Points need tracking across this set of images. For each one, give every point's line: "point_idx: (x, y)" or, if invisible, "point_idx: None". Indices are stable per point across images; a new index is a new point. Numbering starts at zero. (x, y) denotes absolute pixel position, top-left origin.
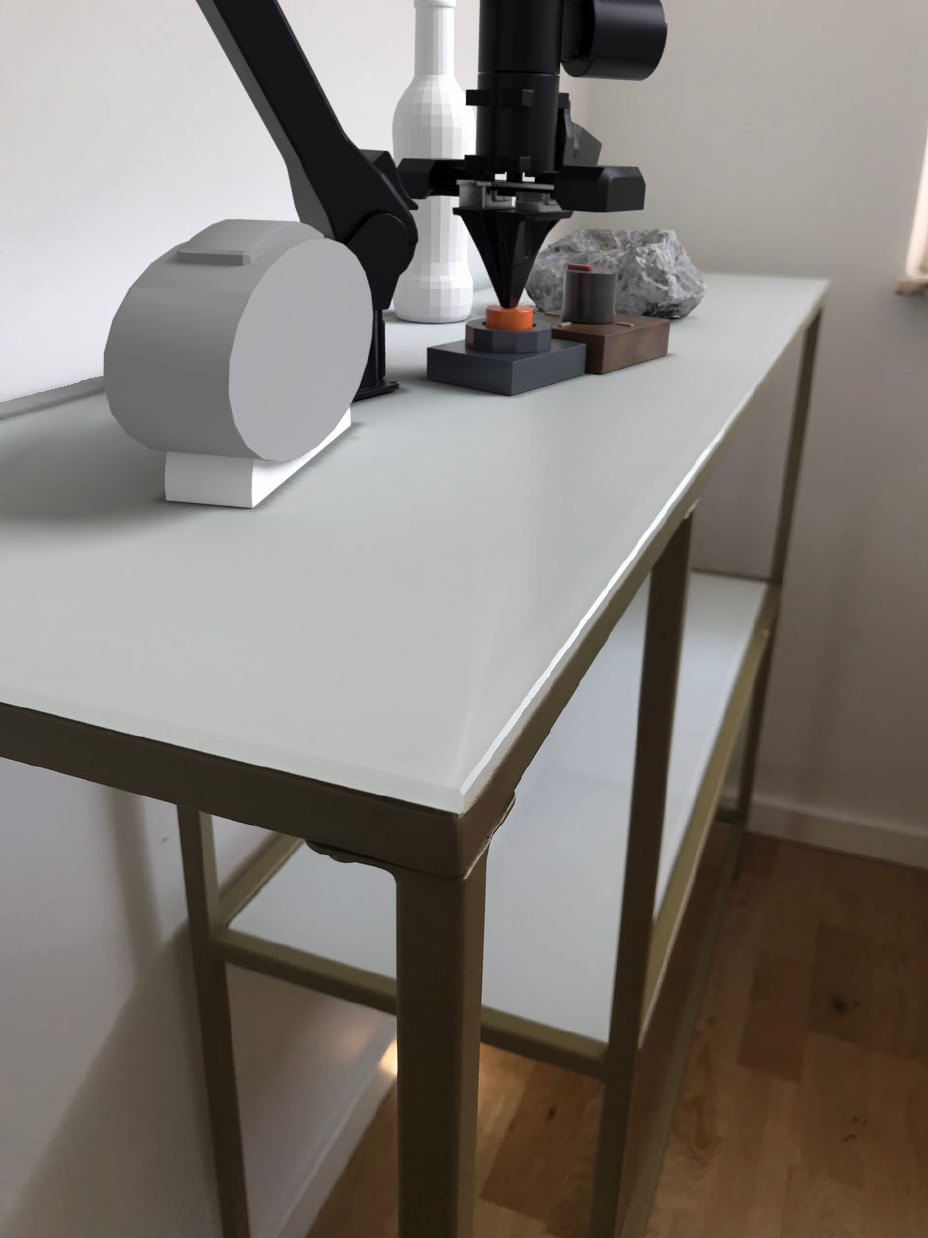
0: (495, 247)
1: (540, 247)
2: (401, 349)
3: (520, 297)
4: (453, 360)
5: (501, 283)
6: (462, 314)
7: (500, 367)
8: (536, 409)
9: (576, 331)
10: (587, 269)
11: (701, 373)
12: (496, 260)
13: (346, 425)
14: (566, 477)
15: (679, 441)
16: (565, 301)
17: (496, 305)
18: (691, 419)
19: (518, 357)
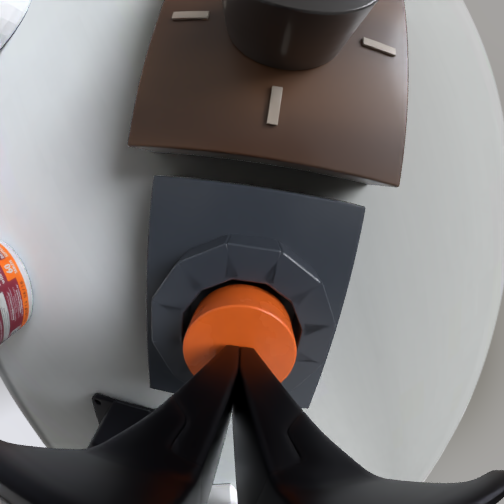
0: (206, 498)
1: (334, 445)
2: (27, 208)
3: (260, 357)
4: None
5: (229, 420)
6: (25, 5)
7: None
8: (347, 403)
9: (334, 170)
10: None
11: (462, 106)
12: (215, 472)
13: (233, 489)
14: (394, 473)
15: (459, 395)
16: (247, 39)
17: (195, 345)
18: (476, 339)
19: (303, 384)
